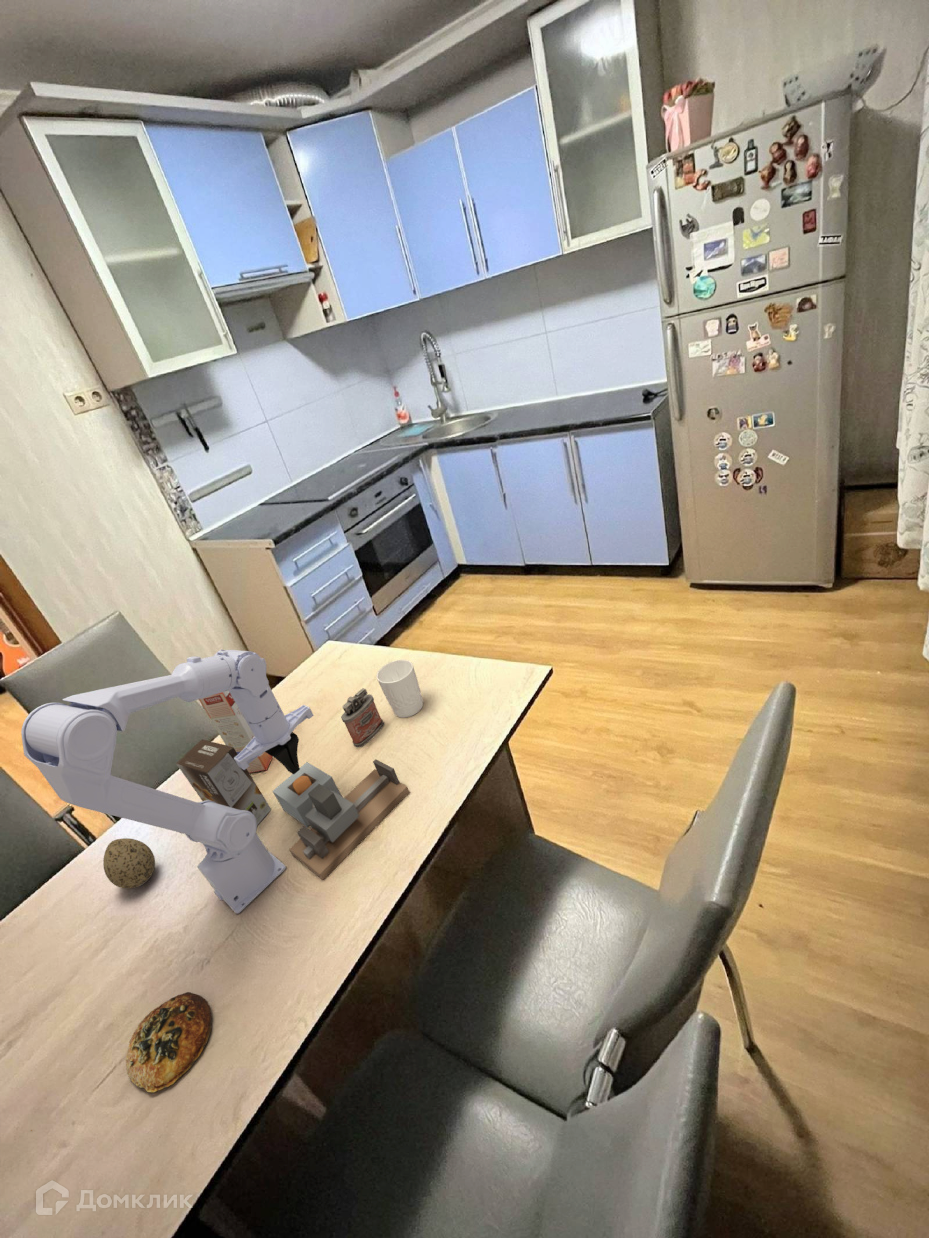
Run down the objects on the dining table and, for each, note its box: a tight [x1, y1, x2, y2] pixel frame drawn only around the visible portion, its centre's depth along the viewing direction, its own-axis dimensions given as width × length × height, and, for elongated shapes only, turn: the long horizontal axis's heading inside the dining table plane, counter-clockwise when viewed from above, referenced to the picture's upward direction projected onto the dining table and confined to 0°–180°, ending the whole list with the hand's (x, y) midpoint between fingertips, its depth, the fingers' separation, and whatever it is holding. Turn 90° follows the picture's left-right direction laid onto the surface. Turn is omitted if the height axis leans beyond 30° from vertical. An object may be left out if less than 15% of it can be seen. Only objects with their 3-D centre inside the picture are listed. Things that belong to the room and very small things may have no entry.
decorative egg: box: [103, 837, 156, 890], centre depth 97 cm, size 7×7×10 cm
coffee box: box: [176, 739, 272, 826], centre depth 103 cm, size 9×6×16 cm
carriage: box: [305, 784, 360, 843], centre depth 94 cm, size 6×6×7 cm
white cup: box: [375, 659, 424, 718], centre depth 121 cm, size 8×8×10 cm
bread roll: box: [125, 991, 213, 1093], centre depth 74 cm, size 11×11×5 cm
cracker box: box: [198, 690, 273, 774], centre depth 118 cm, size 14×6×21 cm, turn 179°
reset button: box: [293, 776, 312, 796], centre depth 104 cm, size 3×3×4 cm
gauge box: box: [272, 761, 342, 828], centre depth 104 cm, size 8×8×5 cm
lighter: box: [340, 687, 385, 748], centre depth 116 cm, size 8×3×10 cm, turn 143°
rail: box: [288, 759, 410, 881], centre depth 98 cm, size 20×9×5 cm, turn 139°
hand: (294, 770), depth 101 cm, fingers closed
